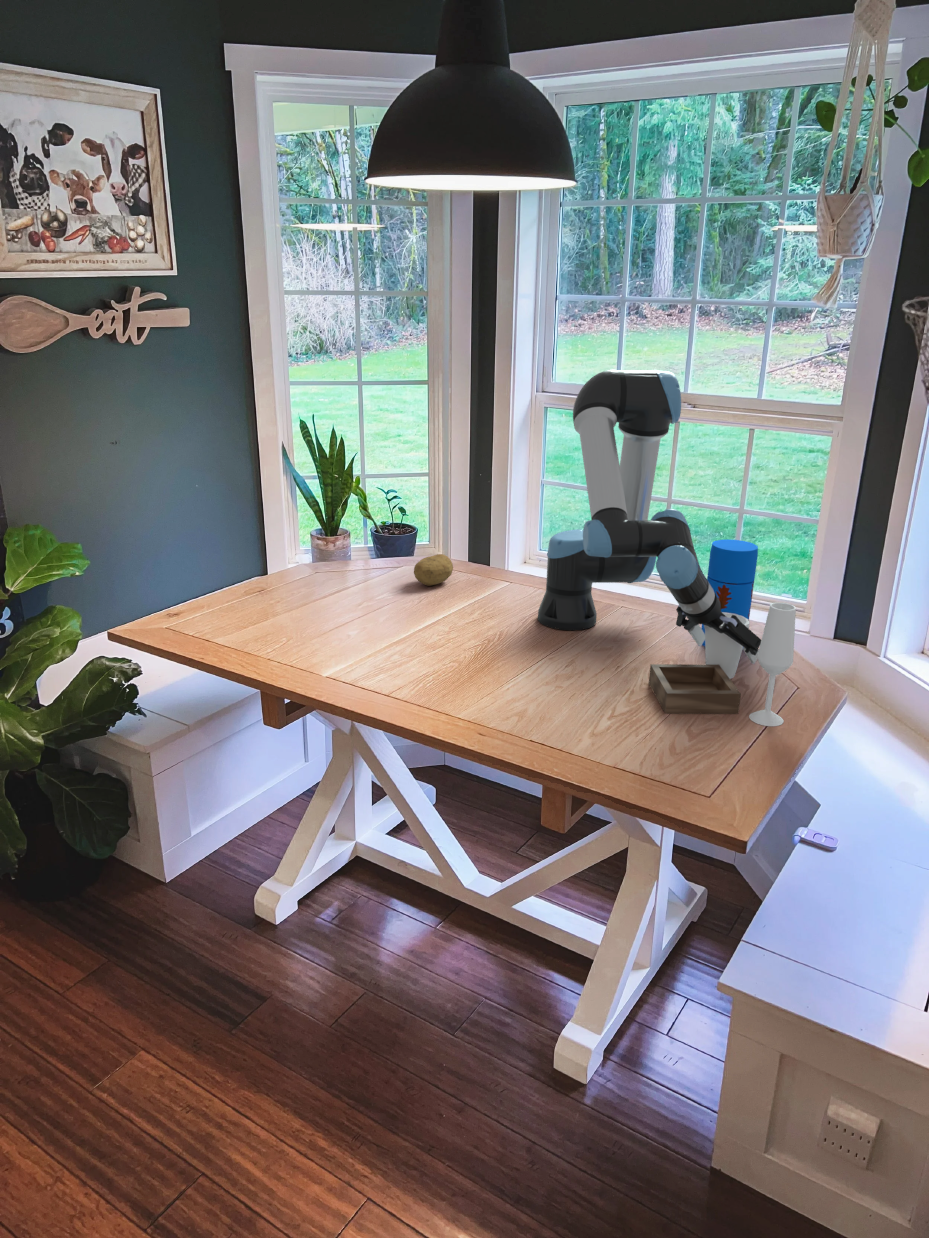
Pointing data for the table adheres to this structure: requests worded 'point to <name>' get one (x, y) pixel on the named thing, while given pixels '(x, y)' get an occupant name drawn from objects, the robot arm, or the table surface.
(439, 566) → the potato
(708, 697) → the square wooden tray
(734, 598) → the thermos
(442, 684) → the table surface
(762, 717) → the champagne flute
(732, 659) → the foam cup
